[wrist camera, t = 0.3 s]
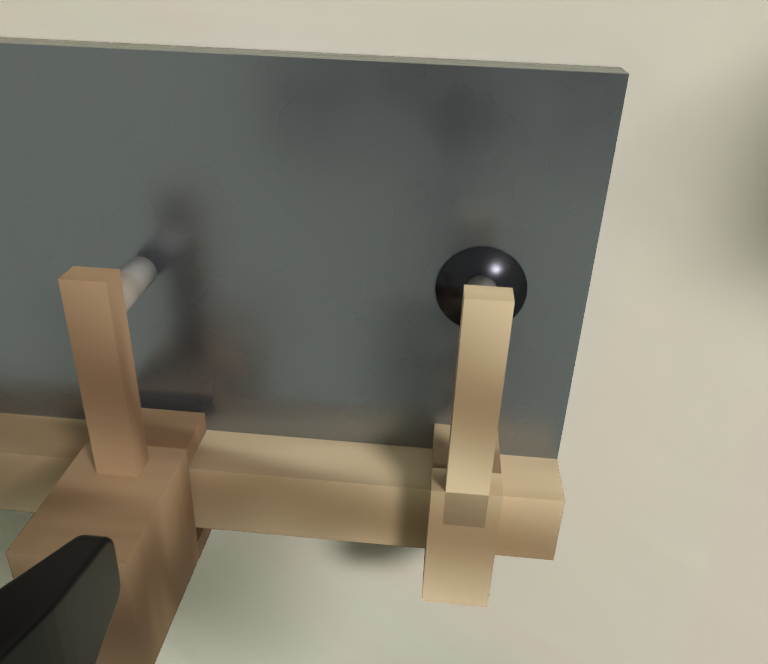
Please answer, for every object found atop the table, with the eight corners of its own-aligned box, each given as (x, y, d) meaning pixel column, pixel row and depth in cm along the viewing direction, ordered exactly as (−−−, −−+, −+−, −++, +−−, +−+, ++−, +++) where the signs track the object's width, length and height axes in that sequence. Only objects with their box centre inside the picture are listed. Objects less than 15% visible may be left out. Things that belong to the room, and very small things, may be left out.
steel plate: (536, 533, 26) (539, 556, 25) (-47, 481, 28) (-65, 500, 27) (621, 67, 18) (629, 74, 18) (-194, 27, 20) (-227, 32, 19)
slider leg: (216, 516, 25) (147, 682, 20) (133, 508, 25) (40, 670, 20) (188, 234, 20) (84, 348, 15) (84, 228, 20) (-58, 338, 15)
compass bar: (542, 537, 25) (552, 613, 22) (-70, 482, 26) (-133, 546, 23) (594, 257, 20) (617, 309, 17) (-164, 207, 21) (-259, 247, 18)
